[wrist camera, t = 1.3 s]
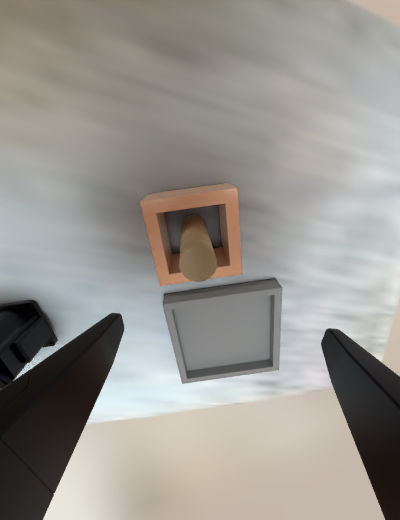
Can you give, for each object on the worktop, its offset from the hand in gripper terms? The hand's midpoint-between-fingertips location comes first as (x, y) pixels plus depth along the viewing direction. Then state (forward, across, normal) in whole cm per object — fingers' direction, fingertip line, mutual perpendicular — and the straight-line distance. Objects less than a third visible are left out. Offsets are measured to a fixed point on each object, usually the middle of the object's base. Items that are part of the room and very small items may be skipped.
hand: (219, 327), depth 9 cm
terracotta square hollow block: (+14, +3, 0) cm, 14 cm away
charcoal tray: (+13, -1, +14) cm, 19 cm away
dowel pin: (+14, +3, 0) cm, 14 cm away
